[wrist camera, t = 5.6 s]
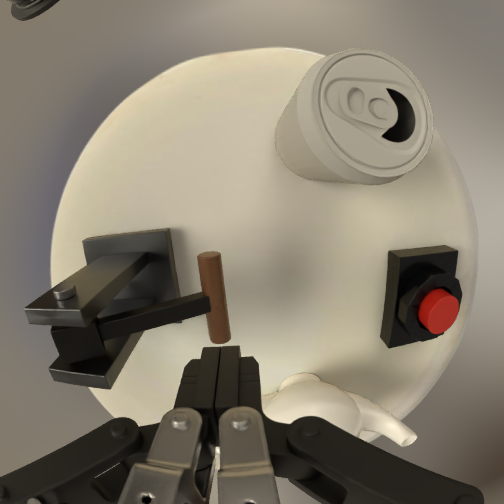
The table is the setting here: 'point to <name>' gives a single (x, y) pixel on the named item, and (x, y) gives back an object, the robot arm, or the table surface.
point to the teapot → (332, 408)
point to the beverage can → (355, 120)
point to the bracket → (108, 298)
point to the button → (438, 311)
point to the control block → (415, 290)
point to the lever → (152, 317)
